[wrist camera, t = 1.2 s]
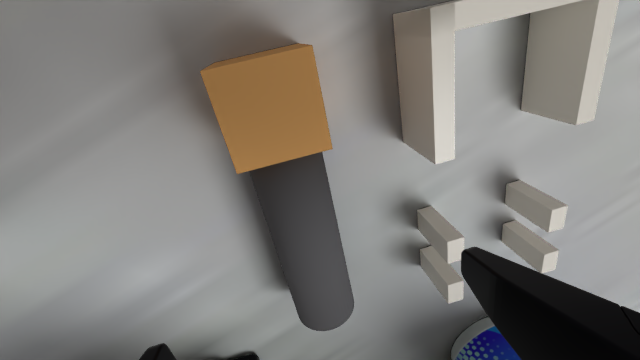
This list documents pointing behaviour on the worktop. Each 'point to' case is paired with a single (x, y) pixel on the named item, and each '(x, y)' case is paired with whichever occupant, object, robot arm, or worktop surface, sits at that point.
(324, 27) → the worktop surface
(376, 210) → the worktop surface
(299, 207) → the stamp-like rod
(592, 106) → the cream arch-shaped block
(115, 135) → the worktop surface
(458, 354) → the beer can
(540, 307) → the robot arm
